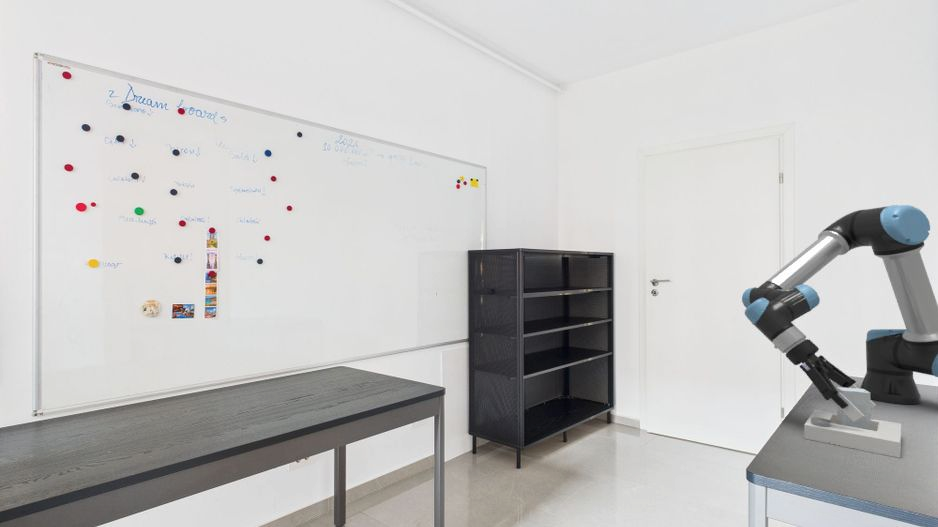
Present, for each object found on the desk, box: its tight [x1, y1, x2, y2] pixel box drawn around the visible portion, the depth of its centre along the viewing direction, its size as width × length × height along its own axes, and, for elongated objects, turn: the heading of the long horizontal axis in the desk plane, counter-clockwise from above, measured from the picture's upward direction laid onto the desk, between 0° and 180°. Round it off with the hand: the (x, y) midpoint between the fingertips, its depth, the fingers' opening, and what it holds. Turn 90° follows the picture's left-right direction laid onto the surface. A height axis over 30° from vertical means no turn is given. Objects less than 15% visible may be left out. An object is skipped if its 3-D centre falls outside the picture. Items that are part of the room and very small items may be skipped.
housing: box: [803, 409, 902, 459], centre depth 121 cm, size 18×18×5 cm
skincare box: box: [836, 386, 872, 430], centre depth 123 cm, size 6×4×12 cm
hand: (865, 413), depth 121 cm, fingers open, 13 cm apart
